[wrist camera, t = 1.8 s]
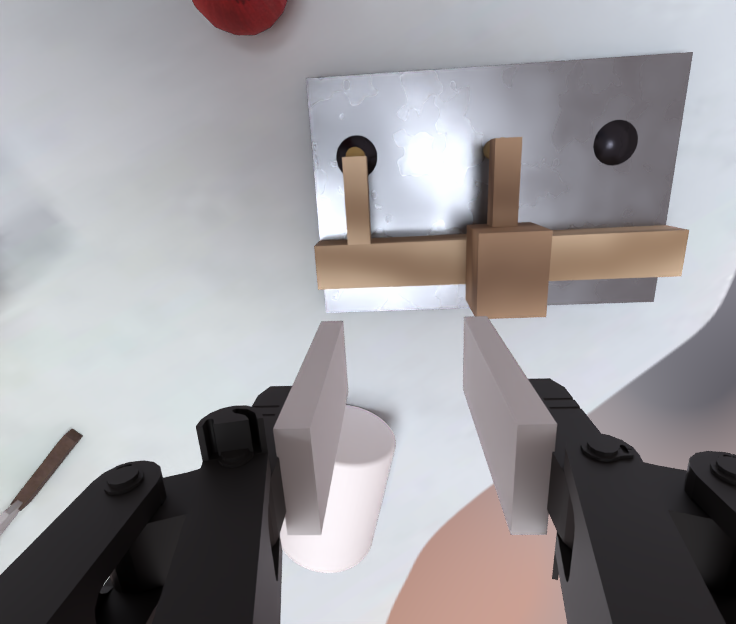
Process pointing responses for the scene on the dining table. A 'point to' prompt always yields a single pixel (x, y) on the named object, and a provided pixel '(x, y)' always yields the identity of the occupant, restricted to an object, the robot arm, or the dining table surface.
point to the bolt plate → (471, 168)
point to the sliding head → (506, 245)
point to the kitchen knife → (40, 477)
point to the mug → (349, 497)
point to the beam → (448, 252)
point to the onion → (241, 14)
